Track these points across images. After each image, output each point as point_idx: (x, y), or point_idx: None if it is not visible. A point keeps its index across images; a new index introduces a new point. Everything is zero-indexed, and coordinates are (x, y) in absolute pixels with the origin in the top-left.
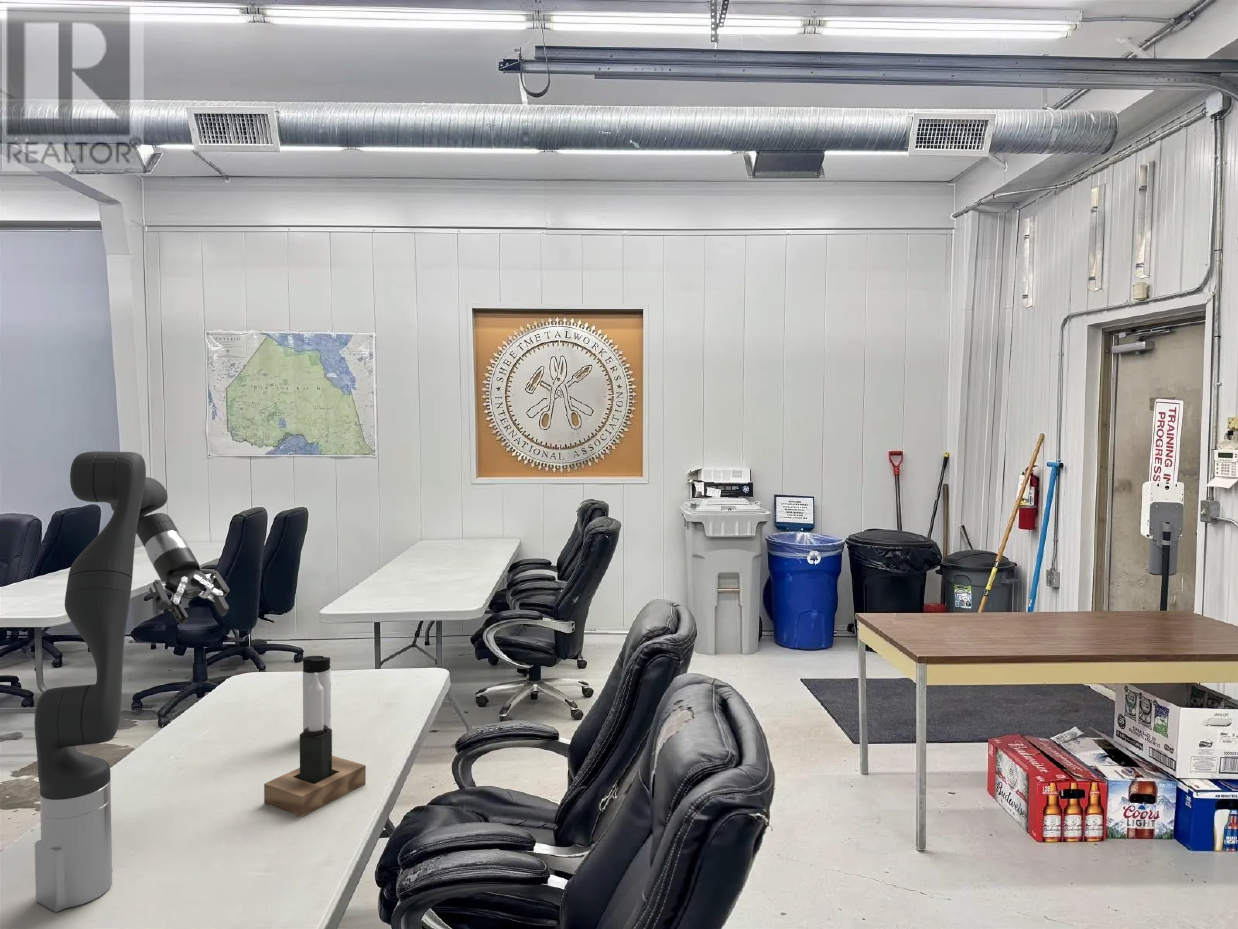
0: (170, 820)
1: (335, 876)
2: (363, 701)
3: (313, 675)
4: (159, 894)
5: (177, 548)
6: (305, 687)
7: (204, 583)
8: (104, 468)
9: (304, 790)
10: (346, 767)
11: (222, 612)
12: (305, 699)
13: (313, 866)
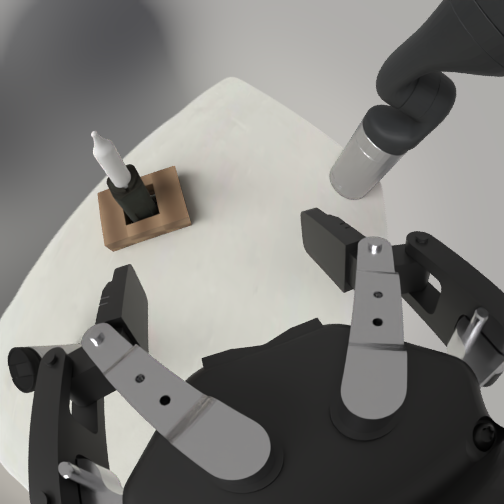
0: (276, 251)
1: (203, 96)
2: (24, 413)
3: (40, 354)
4: (302, 142)
5: None
6: None
7: (166, 387)
8: None
9: (166, 175)
10: (111, 200)
11: (139, 285)
12: None
13: (208, 111)
